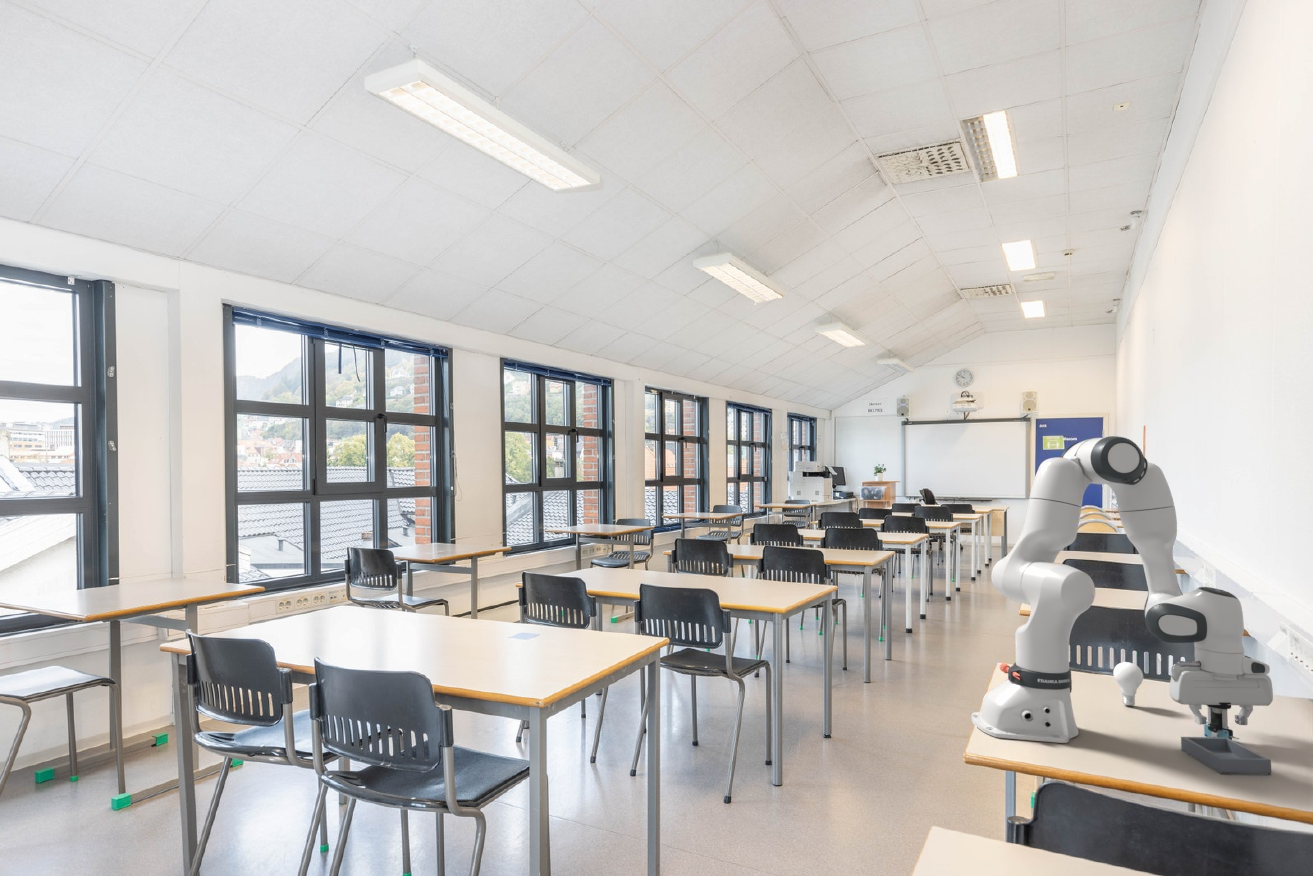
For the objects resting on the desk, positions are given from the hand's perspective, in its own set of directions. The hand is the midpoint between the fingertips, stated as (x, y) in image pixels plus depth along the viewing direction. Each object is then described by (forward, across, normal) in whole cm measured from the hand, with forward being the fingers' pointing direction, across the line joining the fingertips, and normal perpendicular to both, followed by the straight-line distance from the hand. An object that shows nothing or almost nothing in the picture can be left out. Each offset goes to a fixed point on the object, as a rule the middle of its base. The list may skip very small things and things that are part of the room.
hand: (1220, 724), depth 159 cm
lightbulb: (+4, -7, +22) cm, 23 cm away
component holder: (+4, -8, -12) cm, 15 cm away
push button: (+4, 0, 0) cm, 4 cm away
